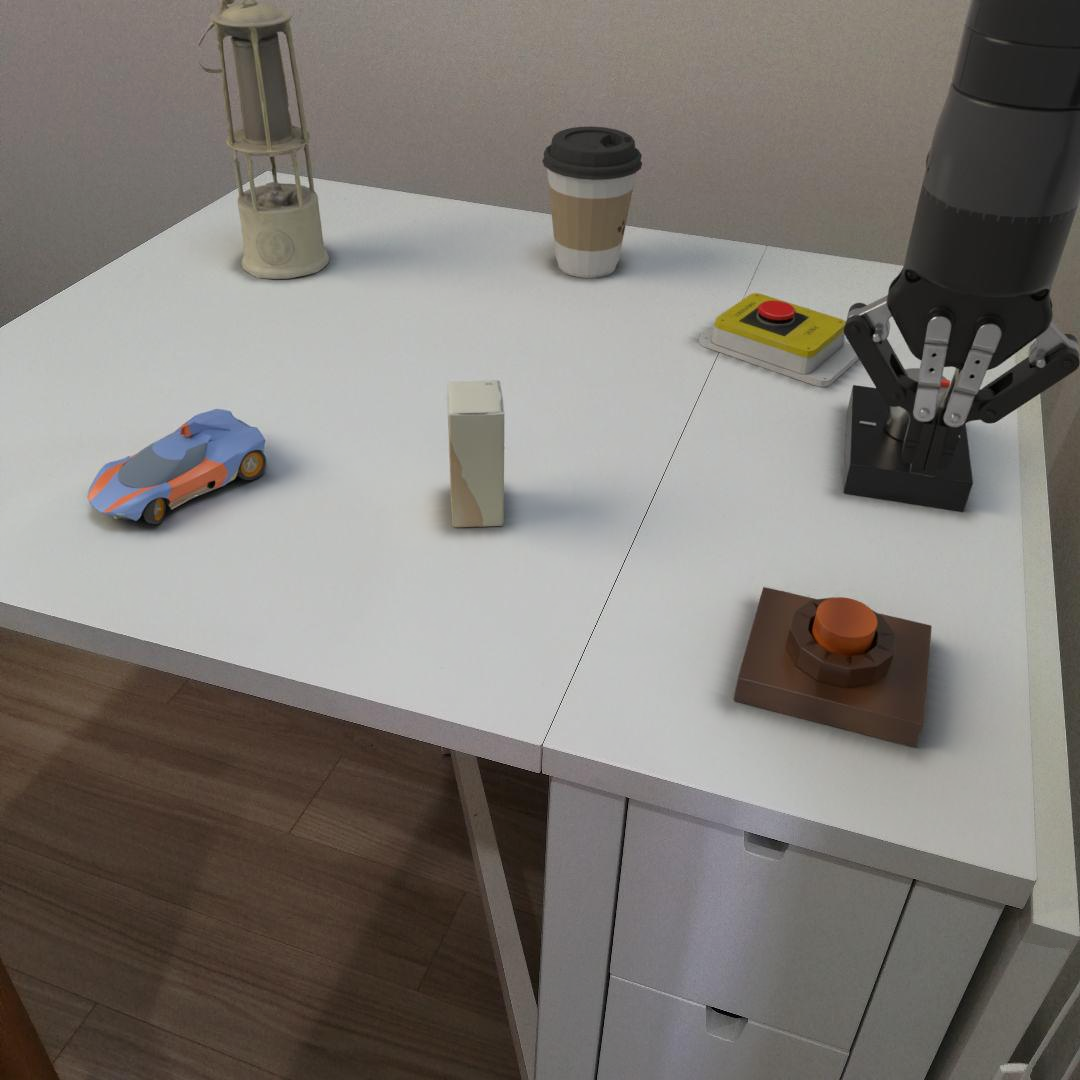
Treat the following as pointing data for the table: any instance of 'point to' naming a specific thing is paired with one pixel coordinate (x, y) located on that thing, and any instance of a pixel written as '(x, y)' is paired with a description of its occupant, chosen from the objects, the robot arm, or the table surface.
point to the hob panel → (897, 460)
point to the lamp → (269, 144)
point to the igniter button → (844, 626)
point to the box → (476, 452)
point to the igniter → (836, 671)
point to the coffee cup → (590, 196)
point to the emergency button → (783, 339)
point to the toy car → (179, 467)
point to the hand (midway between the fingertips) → (923, 467)
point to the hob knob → (900, 417)
